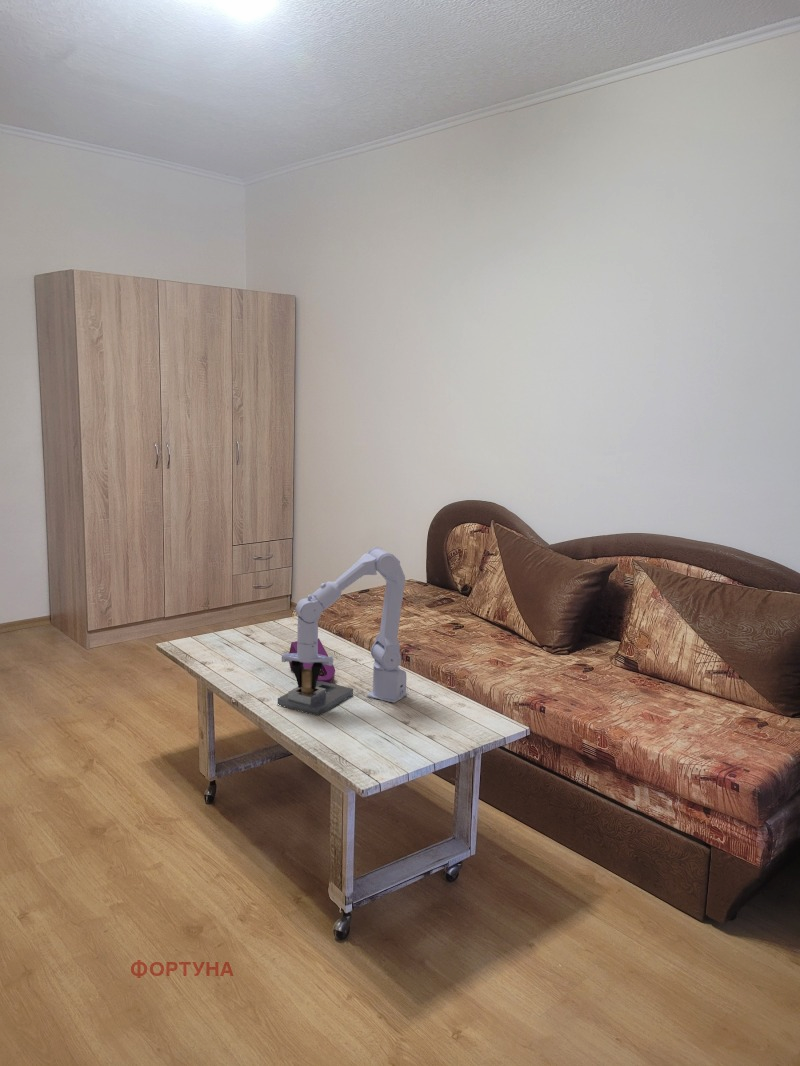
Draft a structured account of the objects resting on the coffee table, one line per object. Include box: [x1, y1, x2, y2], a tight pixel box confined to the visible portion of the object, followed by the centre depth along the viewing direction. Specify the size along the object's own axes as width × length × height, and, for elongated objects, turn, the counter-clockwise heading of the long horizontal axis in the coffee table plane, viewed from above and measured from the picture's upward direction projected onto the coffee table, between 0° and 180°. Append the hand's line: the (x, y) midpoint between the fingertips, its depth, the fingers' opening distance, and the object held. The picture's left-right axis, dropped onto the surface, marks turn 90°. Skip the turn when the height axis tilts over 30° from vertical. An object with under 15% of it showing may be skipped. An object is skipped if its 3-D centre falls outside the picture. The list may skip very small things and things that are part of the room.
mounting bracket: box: [288, 637, 336, 683], centre depth 252 cm, size 9×8×18 cm
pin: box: [301, 668, 313, 695], centre depth 228 cm, size 3×3×9 cm
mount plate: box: [277, 680, 354, 716], centre depth 232 cm, size 14×18×4 cm
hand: (307, 687), depth 228 cm, fingers closed on pin, 3 cm apart
